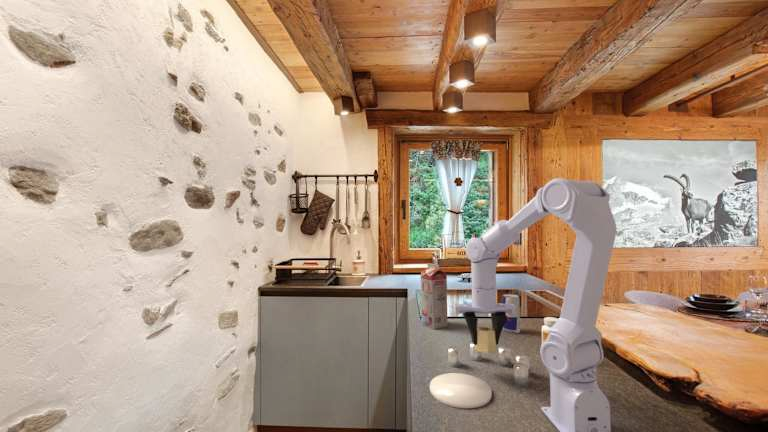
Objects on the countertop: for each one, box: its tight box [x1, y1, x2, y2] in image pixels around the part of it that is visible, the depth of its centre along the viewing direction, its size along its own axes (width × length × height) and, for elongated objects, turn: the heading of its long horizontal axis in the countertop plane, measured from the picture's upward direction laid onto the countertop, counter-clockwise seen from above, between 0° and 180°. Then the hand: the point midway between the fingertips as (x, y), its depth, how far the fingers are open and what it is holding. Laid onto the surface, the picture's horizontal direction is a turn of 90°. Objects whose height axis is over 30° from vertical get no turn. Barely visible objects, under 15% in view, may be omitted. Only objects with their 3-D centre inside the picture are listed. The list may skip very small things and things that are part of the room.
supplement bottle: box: [541, 316, 559, 344], centre depth 86 cm, size 5×5×10 cm
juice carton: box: [420, 262, 449, 330], centre depth 113 cm, size 7×7×22 cm
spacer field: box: [447, 341, 531, 388], centre depth 77 cm, size 16×18×4 cm
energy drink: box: [501, 293, 521, 335], centre depth 106 cm, size 5×5×12 cm
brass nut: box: [475, 324, 497, 354], centre depth 76 cm, size 5×4×5 cm
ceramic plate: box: [429, 372, 493, 409], centre depth 68 cm, size 13×13×1 cm
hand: (485, 343), depth 76 cm, fingers closed on brass nut, 4 cm apart
